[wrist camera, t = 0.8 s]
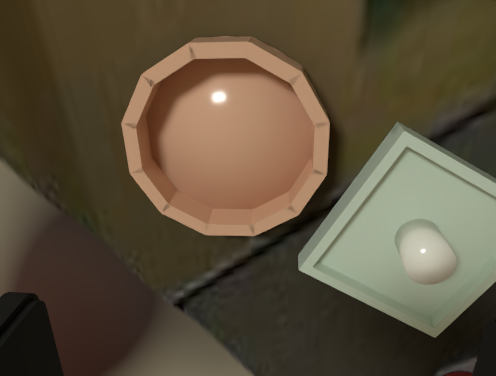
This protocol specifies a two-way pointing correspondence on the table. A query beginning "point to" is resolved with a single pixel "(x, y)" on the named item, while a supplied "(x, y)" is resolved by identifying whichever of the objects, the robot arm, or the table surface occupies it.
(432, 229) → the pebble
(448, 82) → the table surface
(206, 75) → the bowl
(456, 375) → the smoothie
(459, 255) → the tray
